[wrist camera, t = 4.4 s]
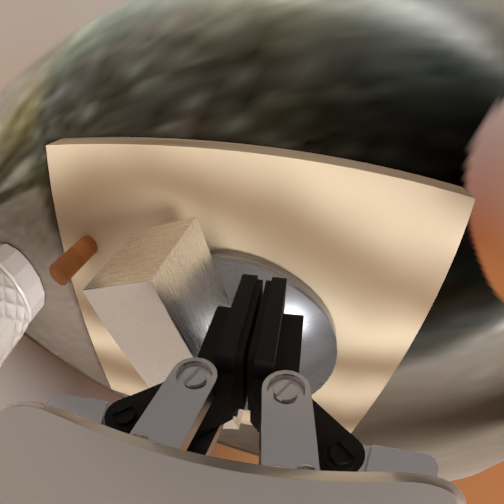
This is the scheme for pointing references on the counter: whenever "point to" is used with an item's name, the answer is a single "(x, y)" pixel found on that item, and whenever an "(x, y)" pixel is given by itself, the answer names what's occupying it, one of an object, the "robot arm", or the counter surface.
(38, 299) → the white cup
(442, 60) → the counter surface
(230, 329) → the robot arm
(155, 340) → the dial
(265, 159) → the dial panel
